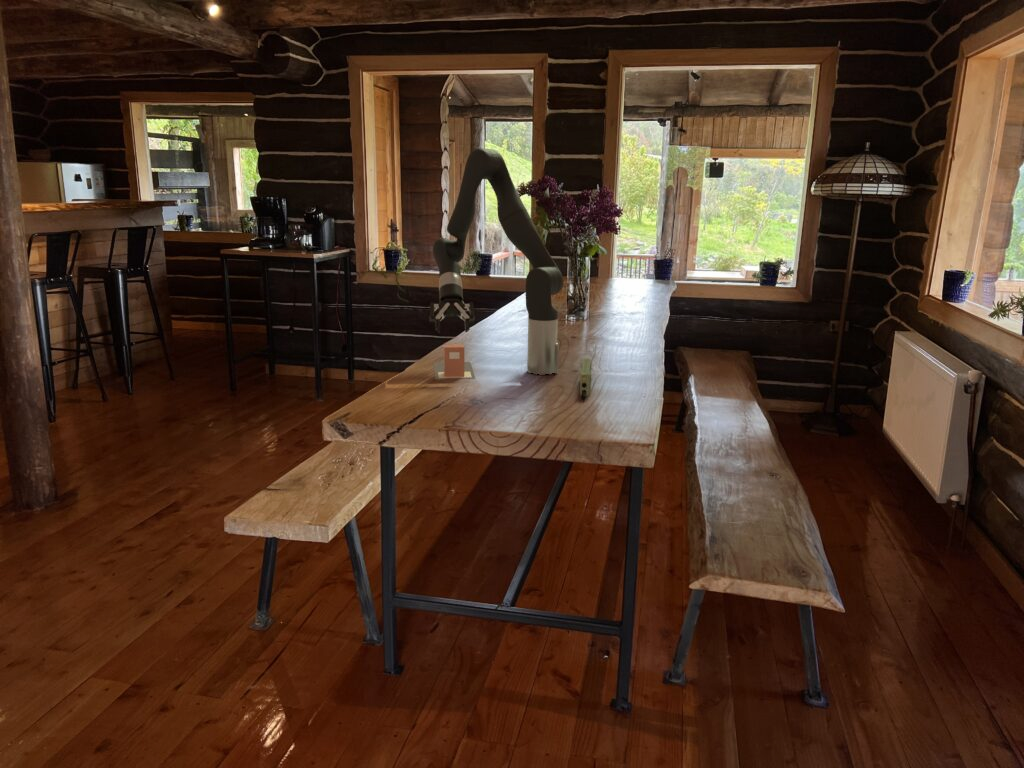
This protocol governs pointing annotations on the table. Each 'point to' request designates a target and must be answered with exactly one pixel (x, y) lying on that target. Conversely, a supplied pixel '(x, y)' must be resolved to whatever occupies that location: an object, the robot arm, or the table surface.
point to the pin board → (467, 375)
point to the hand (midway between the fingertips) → (453, 331)
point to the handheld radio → (585, 378)
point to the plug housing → (453, 360)
